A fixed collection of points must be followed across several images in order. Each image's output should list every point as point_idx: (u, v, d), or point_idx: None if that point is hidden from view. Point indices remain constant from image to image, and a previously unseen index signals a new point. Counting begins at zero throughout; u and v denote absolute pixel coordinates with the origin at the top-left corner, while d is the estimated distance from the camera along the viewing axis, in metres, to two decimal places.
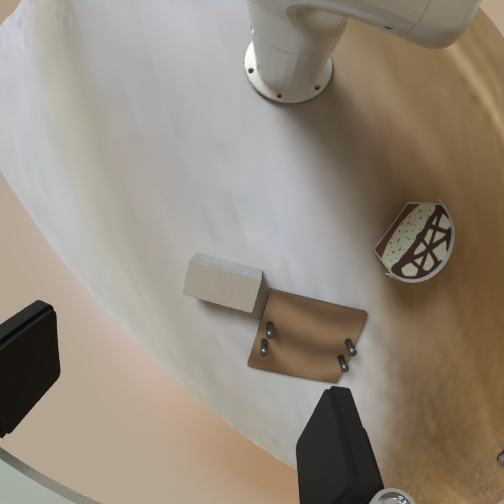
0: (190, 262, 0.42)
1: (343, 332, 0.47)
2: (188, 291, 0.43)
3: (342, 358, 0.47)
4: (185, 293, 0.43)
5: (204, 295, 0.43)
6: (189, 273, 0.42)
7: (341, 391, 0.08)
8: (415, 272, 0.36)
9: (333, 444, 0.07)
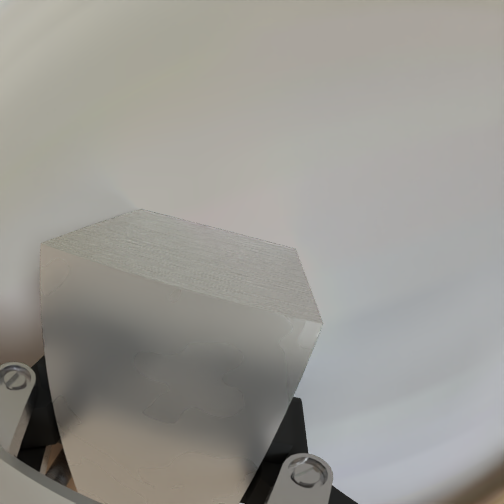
0: (308, 331, 0.05)
1: None
2: (65, 290, 0.05)
3: None
4: (48, 266, 0.05)
5: (72, 387, 0.05)
6: (209, 317, 0.05)
7: None
8: None
9: None
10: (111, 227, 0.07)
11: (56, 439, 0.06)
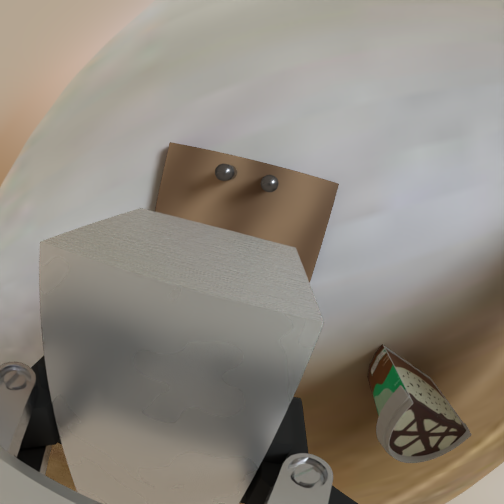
0: (309, 330, 0.05)
1: None
2: (64, 288, 0.05)
3: None
4: (47, 264, 0.05)
5: (72, 386, 0.05)
6: (209, 316, 0.05)
7: None
8: (397, 428, 0.20)
9: None
10: (111, 226, 0.07)
11: (56, 439, 0.06)
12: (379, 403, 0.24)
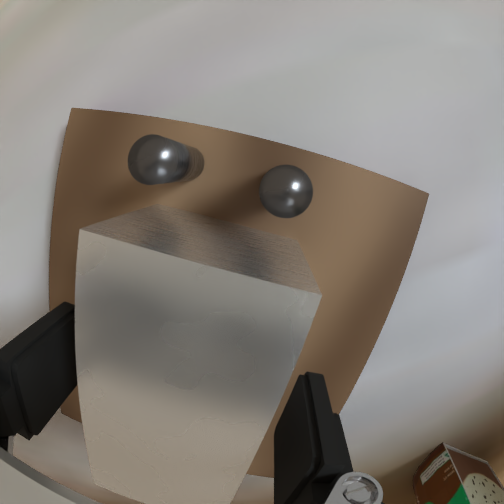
0: (309, 301, 0.06)
1: None
2: (101, 269, 0.06)
3: None
4: (85, 248, 0.06)
5: (99, 360, 0.06)
6: (228, 290, 0.06)
7: (314, 376, 0.09)
8: None
9: (302, 426, 0.07)
10: (136, 218, 0.08)
11: (15, 431, 0.05)
12: None
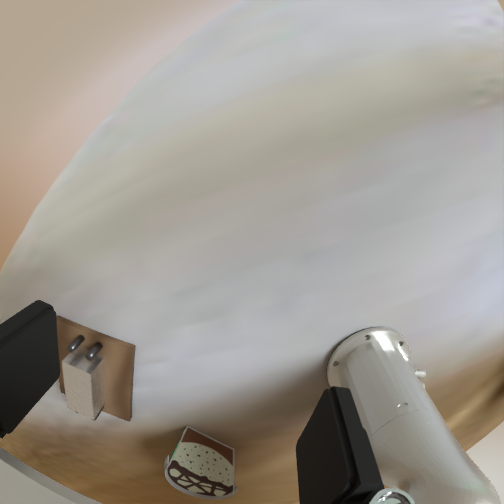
0: (89, 374, 0.36)
1: (108, 403, 0.43)
2: (65, 366, 0.36)
3: None
4: (63, 363, 0.36)
5: (67, 378, 0.37)
6: (80, 371, 0.36)
7: (341, 391, 0.08)
8: (174, 475, 0.37)
9: (333, 444, 0.07)
10: (71, 355, 0.38)
11: None
12: None
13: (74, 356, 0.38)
